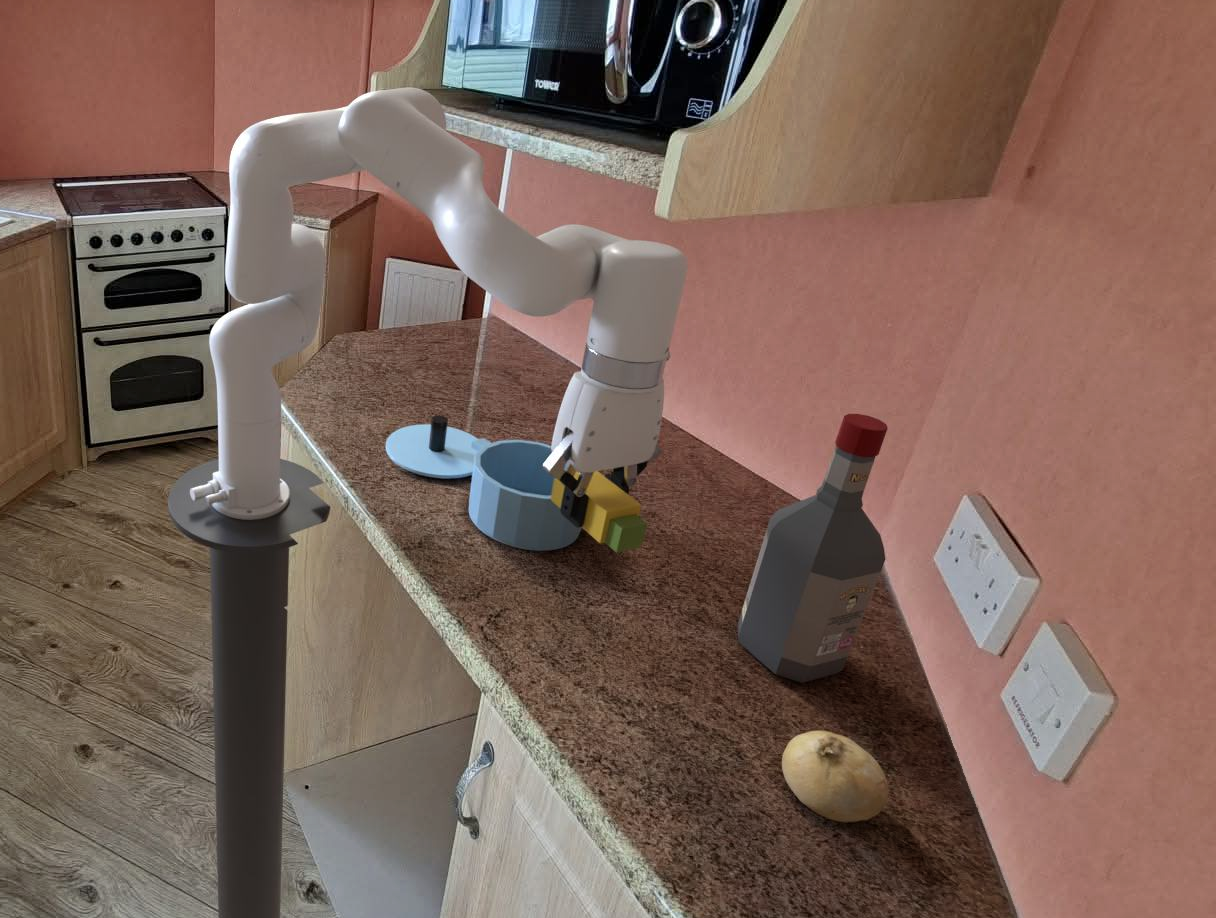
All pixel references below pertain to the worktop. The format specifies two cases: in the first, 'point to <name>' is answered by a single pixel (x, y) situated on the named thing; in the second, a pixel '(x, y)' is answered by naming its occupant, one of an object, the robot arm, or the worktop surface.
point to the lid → (433, 449)
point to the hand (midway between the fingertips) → (591, 514)
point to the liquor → (818, 567)
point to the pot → (517, 496)
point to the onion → (834, 776)
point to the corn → (608, 513)
